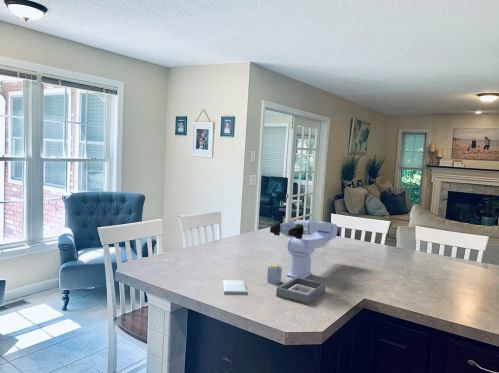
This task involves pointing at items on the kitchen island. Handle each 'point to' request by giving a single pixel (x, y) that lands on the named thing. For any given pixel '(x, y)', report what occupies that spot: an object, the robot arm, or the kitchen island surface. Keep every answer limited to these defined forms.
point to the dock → (301, 290)
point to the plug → (274, 274)
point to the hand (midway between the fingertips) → (280, 231)
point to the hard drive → (234, 287)
